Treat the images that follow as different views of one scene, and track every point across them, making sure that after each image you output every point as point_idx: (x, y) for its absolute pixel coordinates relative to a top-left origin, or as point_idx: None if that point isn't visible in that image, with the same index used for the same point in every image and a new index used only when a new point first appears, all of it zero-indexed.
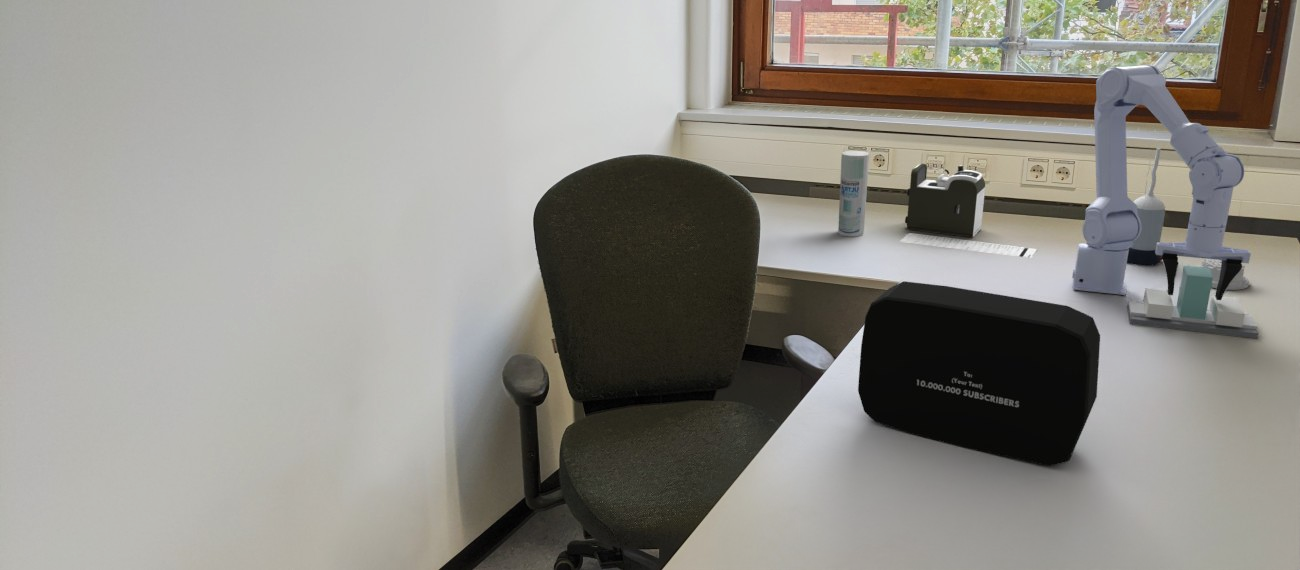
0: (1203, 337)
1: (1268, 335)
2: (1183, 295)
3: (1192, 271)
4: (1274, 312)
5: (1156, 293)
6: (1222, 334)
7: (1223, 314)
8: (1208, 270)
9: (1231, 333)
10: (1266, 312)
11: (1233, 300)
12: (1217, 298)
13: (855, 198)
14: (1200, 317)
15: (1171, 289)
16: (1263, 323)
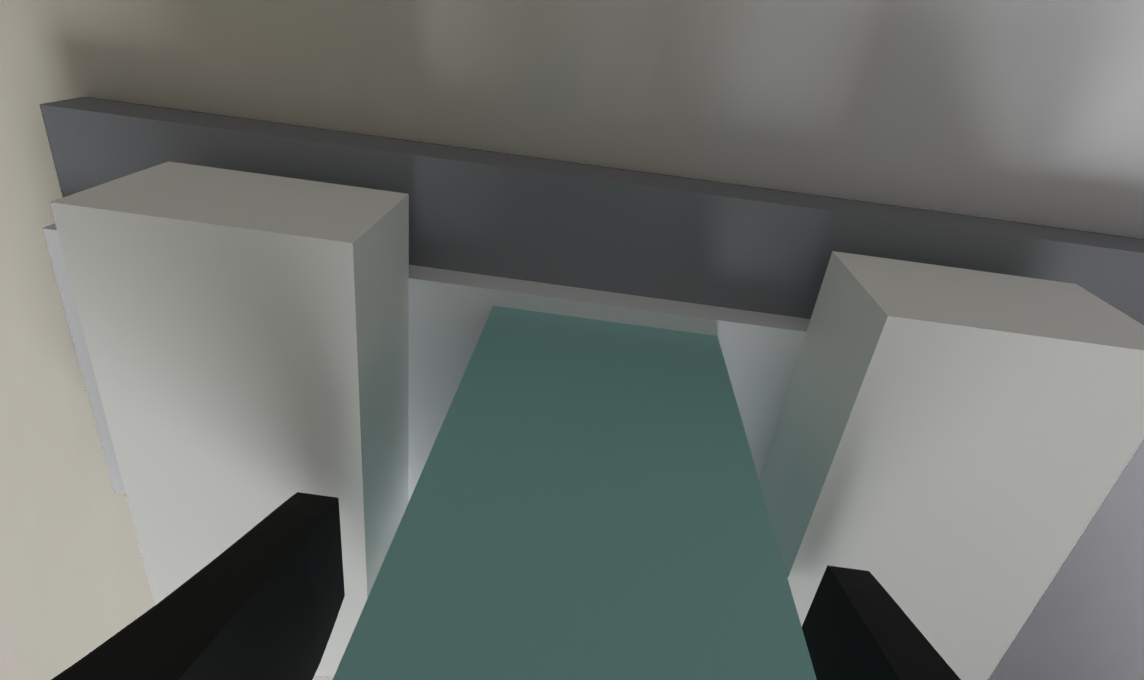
0: (558, 2)
1: (12, 214)
2: (758, 499)
3: None
4: (37, 638)
5: None
6: (368, 137)
7: (305, 224)
8: None
9: (287, 132)
10: (79, 632)
11: None
12: (325, 508)
13: None
14: (532, 321)
15: (894, 624)
16: (76, 460)
